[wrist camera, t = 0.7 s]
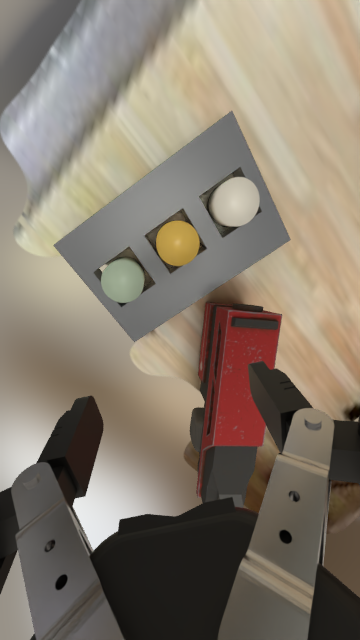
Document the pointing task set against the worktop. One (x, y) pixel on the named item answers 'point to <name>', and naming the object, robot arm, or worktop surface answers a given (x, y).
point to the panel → (183, 194)
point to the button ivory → (234, 202)
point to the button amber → (177, 243)
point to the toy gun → (230, 397)
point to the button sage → (123, 280)
